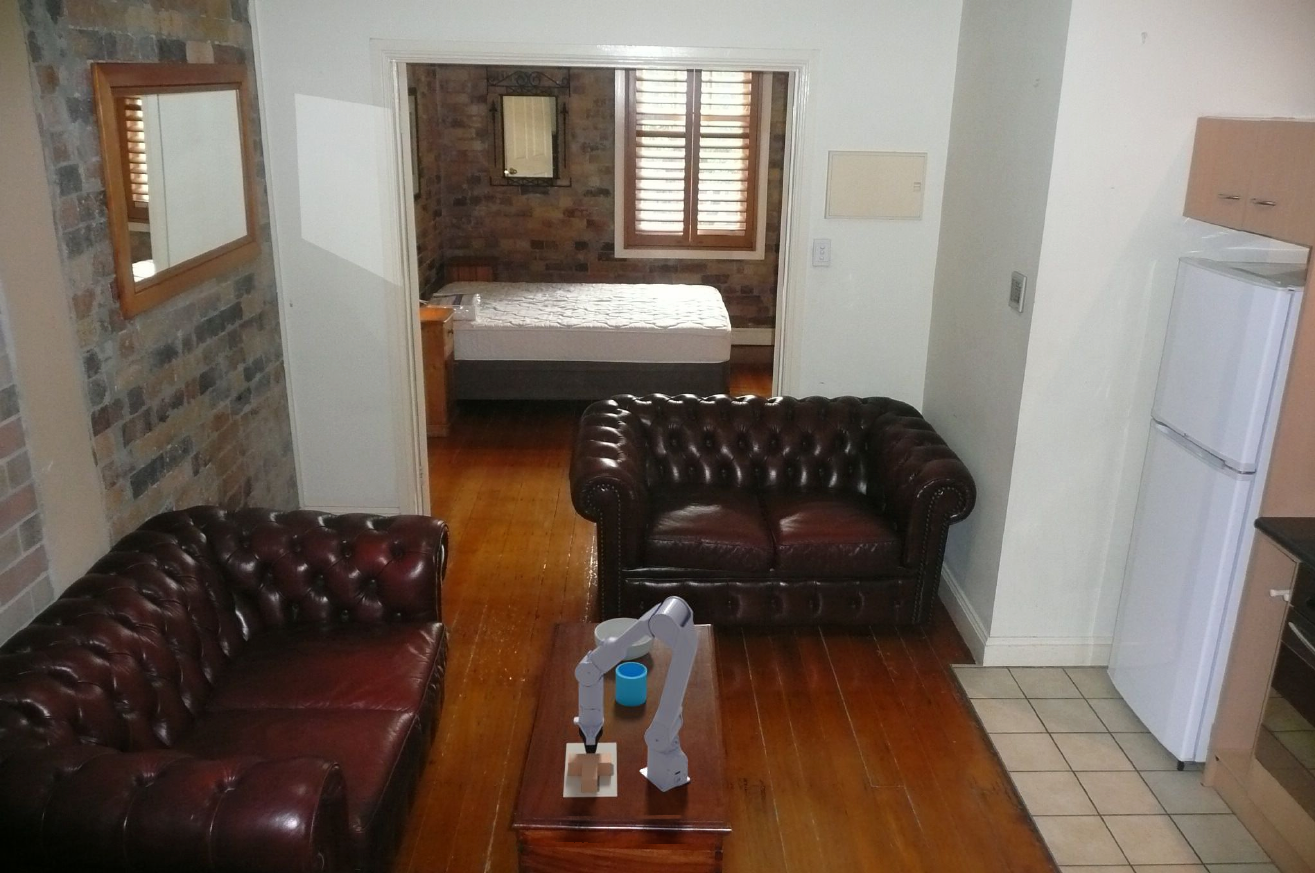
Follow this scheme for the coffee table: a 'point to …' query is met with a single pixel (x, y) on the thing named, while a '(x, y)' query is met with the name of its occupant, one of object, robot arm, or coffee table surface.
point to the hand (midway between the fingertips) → (590, 752)
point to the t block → (590, 768)
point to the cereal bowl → (617, 629)
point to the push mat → (604, 783)
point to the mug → (631, 684)
